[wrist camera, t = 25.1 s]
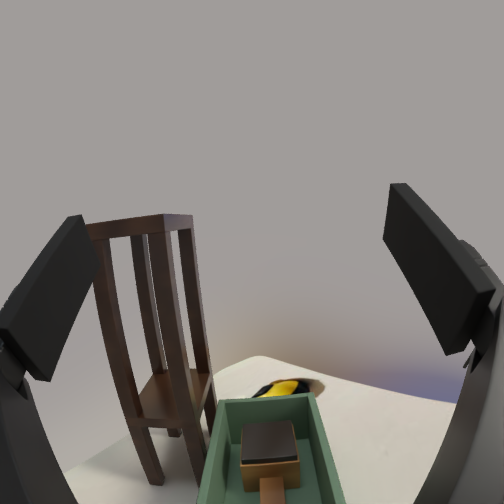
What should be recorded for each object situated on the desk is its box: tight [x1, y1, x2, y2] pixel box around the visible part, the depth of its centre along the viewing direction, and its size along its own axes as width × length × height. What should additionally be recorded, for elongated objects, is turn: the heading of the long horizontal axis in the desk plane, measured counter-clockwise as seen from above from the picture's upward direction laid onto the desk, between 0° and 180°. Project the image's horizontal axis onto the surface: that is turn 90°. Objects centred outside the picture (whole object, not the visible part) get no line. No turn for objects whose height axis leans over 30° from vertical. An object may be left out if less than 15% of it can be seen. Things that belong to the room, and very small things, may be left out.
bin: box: [196, 392, 346, 504], centre depth 26 cm, size 12×22×8 cm, turn 179°
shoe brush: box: [240, 420, 300, 504], centre depth 26 cm, size 6×17×5 cm, turn 0°
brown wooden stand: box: [86, 214, 218, 488], centre depth 33 cm, size 8×12×30 cm, turn 179°
